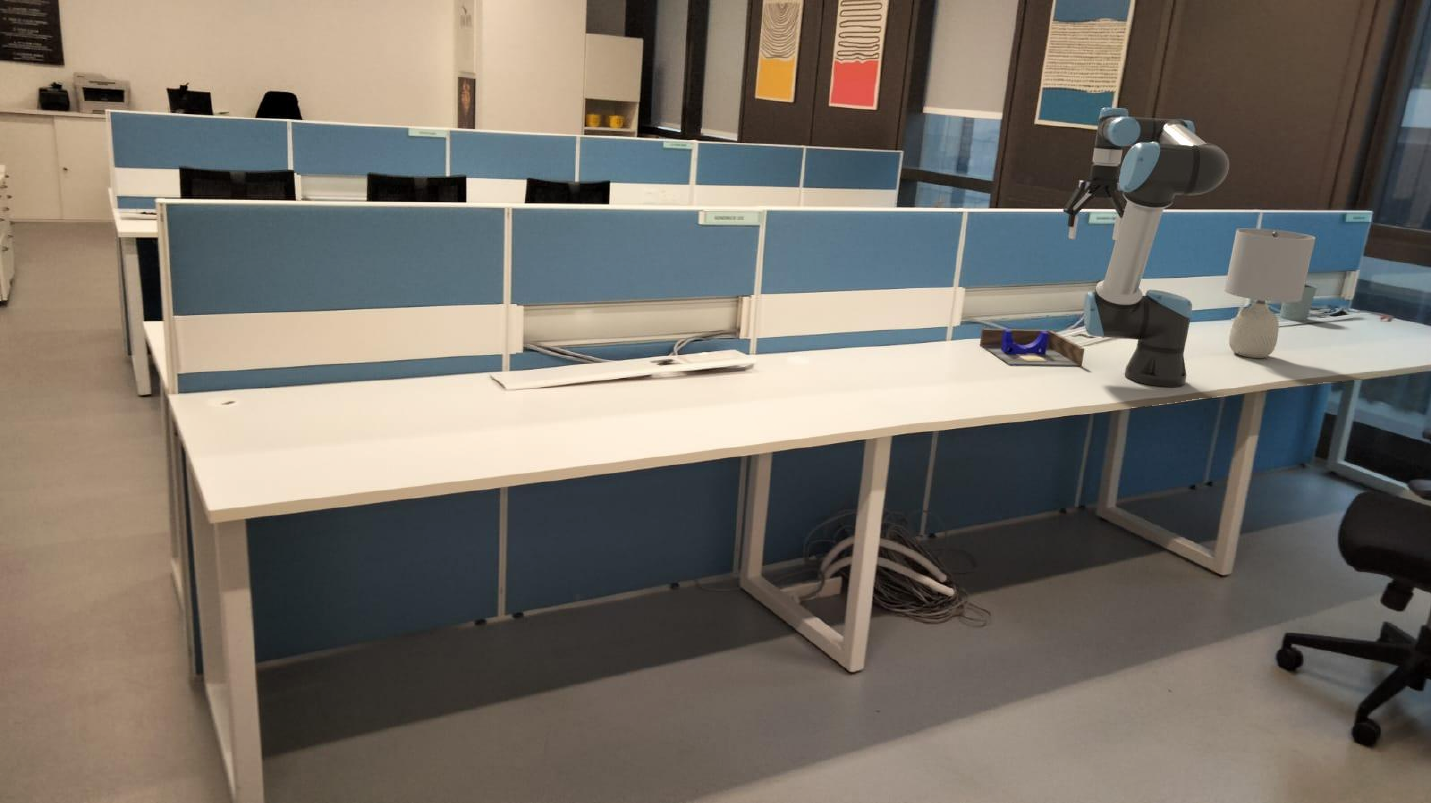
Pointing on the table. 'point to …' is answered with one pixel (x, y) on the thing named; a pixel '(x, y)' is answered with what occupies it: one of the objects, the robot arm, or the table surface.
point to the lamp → (1265, 284)
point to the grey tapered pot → (1299, 305)
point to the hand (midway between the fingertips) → (1093, 239)
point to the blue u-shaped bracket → (1034, 347)
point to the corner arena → (1056, 353)
